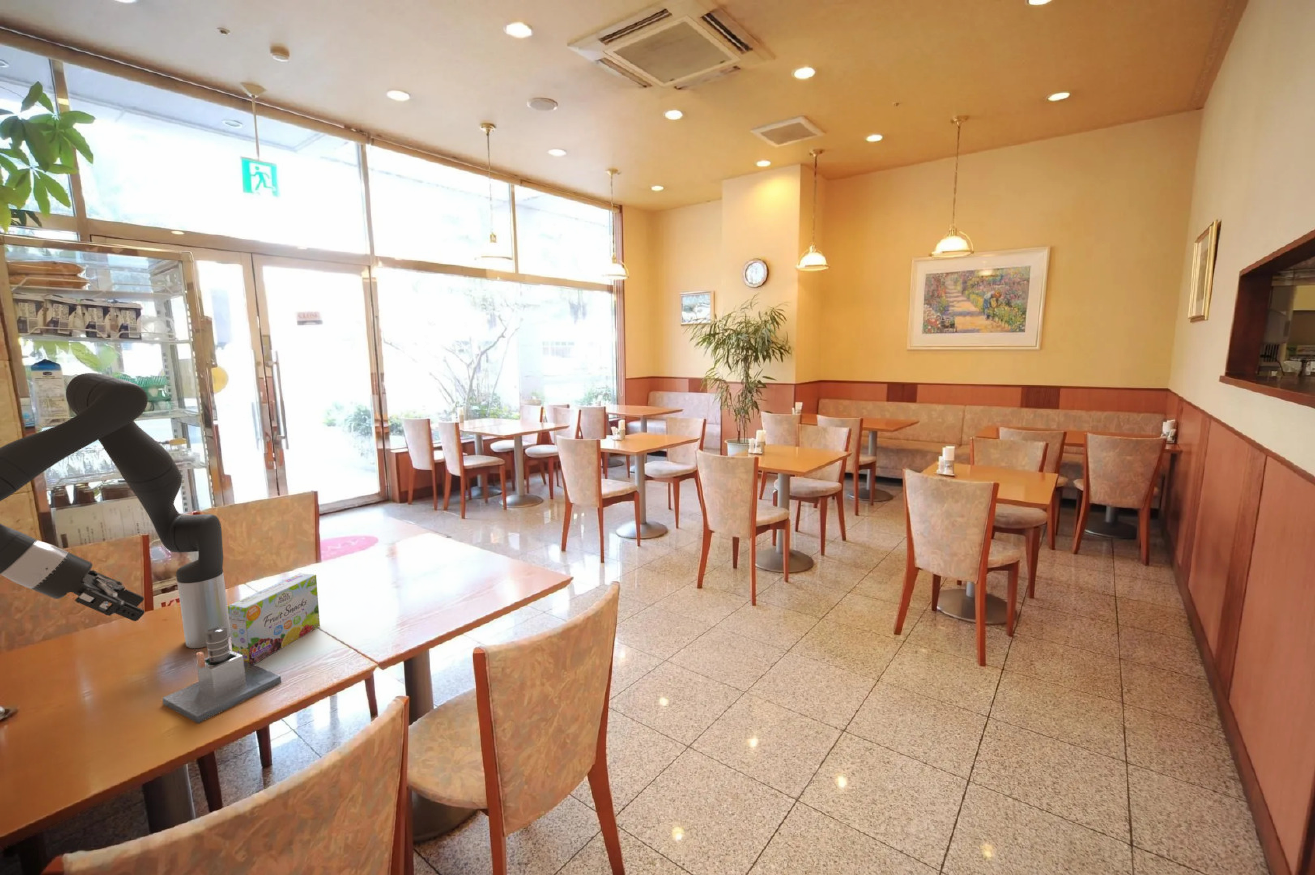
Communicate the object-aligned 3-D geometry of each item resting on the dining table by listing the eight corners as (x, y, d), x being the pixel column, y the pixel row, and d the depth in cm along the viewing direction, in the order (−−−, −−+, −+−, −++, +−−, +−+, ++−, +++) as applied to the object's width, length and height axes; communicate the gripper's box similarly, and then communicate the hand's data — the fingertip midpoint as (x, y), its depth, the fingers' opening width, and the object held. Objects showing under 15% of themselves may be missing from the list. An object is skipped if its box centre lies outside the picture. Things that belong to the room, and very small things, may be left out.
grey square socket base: (163, 704, 119) (156, 655, 118) (246, 667, 133) (240, 623, 132) (198, 723, 113) (191, 672, 111) (281, 682, 127) (276, 636, 126)
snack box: (252, 668, 133) (245, 607, 131) (232, 665, 134) (225, 605, 132) (322, 626, 154) (316, 573, 152) (304, 624, 155) (298, 571, 153)
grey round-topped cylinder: (208, 686, 122) (201, 632, 120) (227, 678, 125) (221, 625, 124) (218, 691, 121) (210, 636, 119) (237, 682, 124) (230, 628, 122)
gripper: (63, 561, 99) (158, 604, 109) (69, 542, 110) (155, 582, 119) (23, 599, 97) (124, 639, 106) (33, 576, 107) (124, 614, 116)
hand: (140, 609), depth 113 cm, fingers open, 8 cm apart
